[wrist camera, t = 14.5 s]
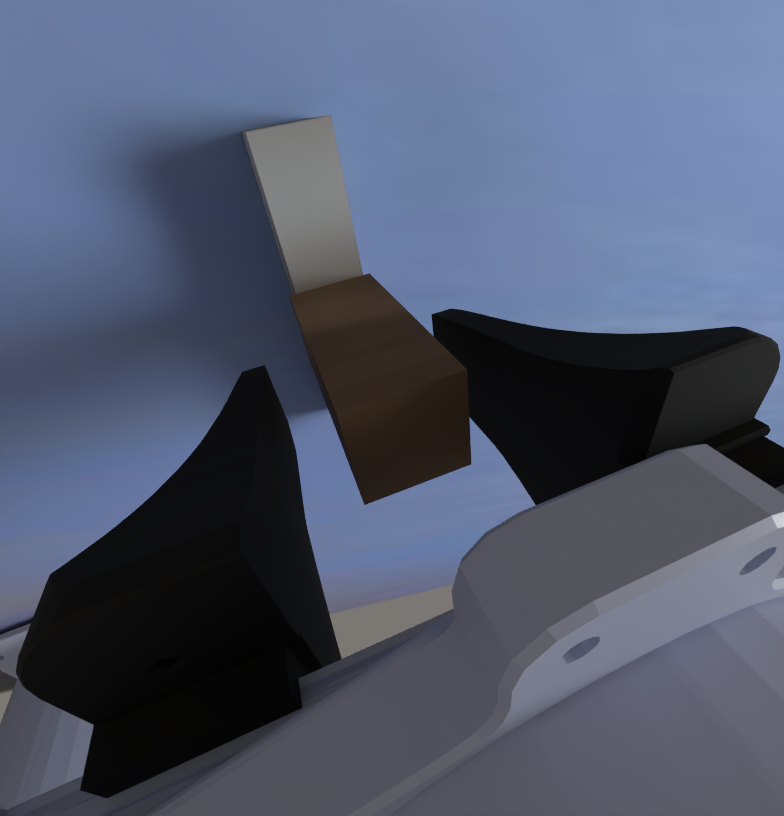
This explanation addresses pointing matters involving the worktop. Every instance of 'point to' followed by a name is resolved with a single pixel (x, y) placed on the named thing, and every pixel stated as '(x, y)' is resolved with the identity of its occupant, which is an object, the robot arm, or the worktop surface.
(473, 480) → the worktop surface
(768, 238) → the worktop surface
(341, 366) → the scraper
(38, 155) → the worktop surface
